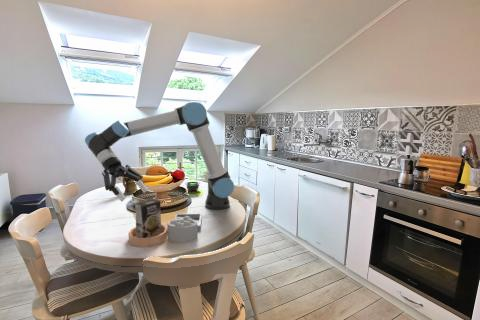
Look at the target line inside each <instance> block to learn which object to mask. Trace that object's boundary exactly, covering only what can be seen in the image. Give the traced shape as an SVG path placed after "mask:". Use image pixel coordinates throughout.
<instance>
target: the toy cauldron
mask: <svg viewBox="0 0 480 320" xmlns="http://www.w3.org/2000/svg"><path fill="white" fill-rule="evenodd" d="M195 180H196V181H191V178H189V179H188V180H187V182H184V185H186V190H187V191H188V194H189V196H188V197H195V196H196V197H197V196H201V195H203V194H204V191H203V190H200V189H199V188H200V186H201V182H199V181H198V179H196V178H195Z"/></svg>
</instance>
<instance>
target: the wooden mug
mask: <svg viewBox="0 0 480 320" xmlns="http://www.w3.org/2000/svg"><path fill="white" fill-rule="evenodd" d="M122 185H123V187H124V193H123V194H125V195H134V194H133V193H134V192H135V191H137V190H138V187H137V186H138V185H137V183H136V184H135V182H134V180H132V179H130V178H128V177H124V176H122Z"/></svg>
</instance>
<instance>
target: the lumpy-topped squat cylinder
mask: <svg viewBox="0 0 480 320" xmlns="http://www.w3.org/2000/svg"><path fill="white" fill-rule="evenodd" d="M166 225H167V226H166V227H167V228H168V236H167V239H168V241H171V242H175V243H179V242H180V244H183V243H184V244H186V243H191V242H195V241H196V240H198V233H199V230H197V225H198V222H197V220H196V219H195V218H194V219H191V218H190V217H189V216H185V217H176V218H175V217H174V218H173V219H172V220H170V221H168V223H167V224H166Z"/></svg>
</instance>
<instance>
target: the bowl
mask: <svg viewBox="0 0 480 320" xmlns="http://www.w3.org/2000/svg"><path fill="white" fill-rule="evenodd" d="M167 239H168V226H166V225H165V224H163V223H161V234H159V235H158V236H154V237H150V238H138V237H136V226H135V227H133V228H131V229H130V230H129V232H128V242H129V243H130V246H133V247H134V246H135V247H137V248H147V247H152V246H153V247H154V246H156V245H159V244H162V243H163V242H165V241H166V240H167Z"/></svg>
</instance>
